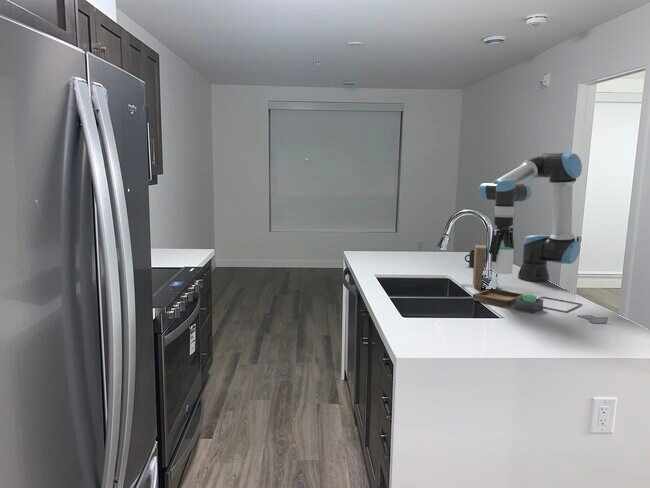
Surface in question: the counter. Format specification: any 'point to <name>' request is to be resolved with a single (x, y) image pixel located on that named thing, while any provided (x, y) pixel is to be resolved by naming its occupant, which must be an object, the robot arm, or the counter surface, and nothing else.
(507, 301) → the wooden tray
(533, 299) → the button
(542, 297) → the tote frame
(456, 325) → the counter surface
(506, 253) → the mug
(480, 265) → the wooden block
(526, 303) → the control box
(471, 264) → the mug
